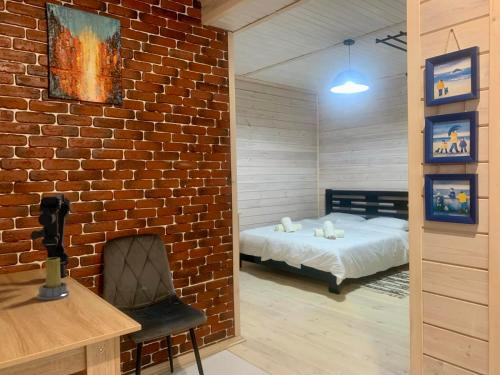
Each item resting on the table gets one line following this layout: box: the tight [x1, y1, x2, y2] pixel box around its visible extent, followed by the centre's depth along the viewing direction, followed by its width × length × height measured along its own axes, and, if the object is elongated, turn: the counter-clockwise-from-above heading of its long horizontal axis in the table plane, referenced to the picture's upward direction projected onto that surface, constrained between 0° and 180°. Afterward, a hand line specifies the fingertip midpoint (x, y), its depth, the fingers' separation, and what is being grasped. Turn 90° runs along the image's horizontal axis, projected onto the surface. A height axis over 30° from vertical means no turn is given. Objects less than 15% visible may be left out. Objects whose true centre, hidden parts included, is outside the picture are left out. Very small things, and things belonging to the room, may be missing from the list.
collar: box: [36, 281, 70, 302], centre depth 160 cm, size 12×12×4 cm
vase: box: [45, 257, 62, 288], centre depth 160 cm, size 6×6×14 cm
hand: (51, 257), depth 177 cm, fingers open, 9 cm apart
